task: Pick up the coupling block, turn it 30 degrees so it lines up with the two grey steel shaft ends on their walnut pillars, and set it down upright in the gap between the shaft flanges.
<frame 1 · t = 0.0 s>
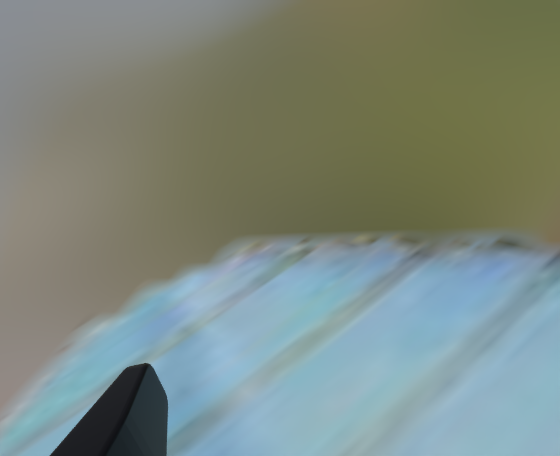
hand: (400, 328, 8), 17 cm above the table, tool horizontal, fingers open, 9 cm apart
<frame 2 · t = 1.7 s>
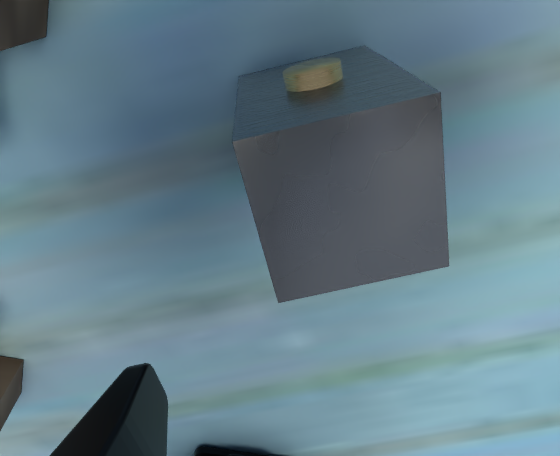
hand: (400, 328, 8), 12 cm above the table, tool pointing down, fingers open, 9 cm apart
coupling block: (313, 122, 19), on the table
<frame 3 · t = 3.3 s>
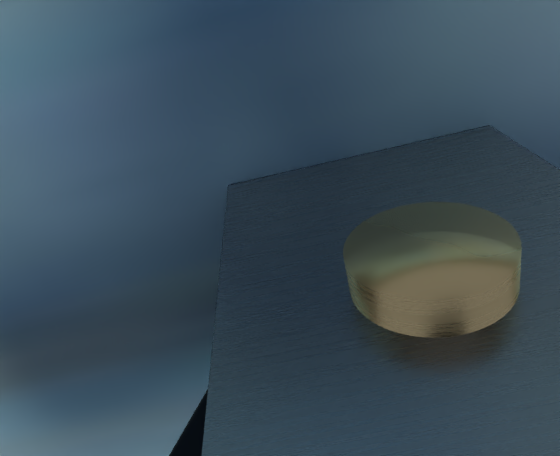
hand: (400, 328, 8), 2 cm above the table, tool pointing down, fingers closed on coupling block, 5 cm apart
coupling block: (372, 263, 10), on the table, touching gripper
when the fingers open (3 cm above the table, at t = 8.7 s): coupling block drops 1 cm, on the table.
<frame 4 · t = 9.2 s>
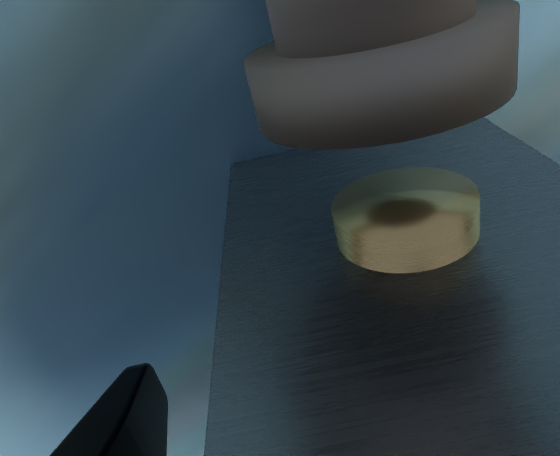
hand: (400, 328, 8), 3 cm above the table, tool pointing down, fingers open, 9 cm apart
shaft stand: (361, 240, 11), on the table
coupling block: (363, 237, 11), on the table
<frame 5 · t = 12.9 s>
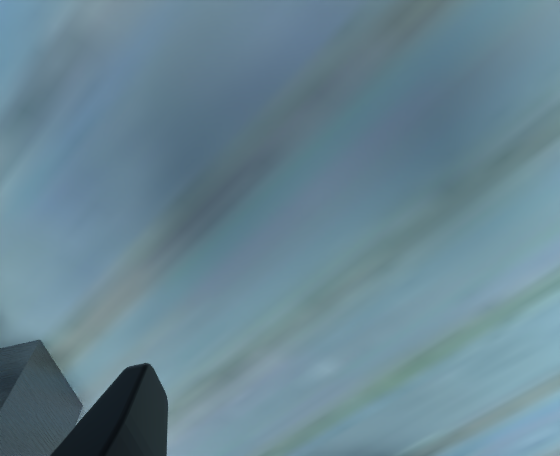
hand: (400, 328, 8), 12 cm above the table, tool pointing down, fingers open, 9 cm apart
coupling block: (18, 383, 24), on the table
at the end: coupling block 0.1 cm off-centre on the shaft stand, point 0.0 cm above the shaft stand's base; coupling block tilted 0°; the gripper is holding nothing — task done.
